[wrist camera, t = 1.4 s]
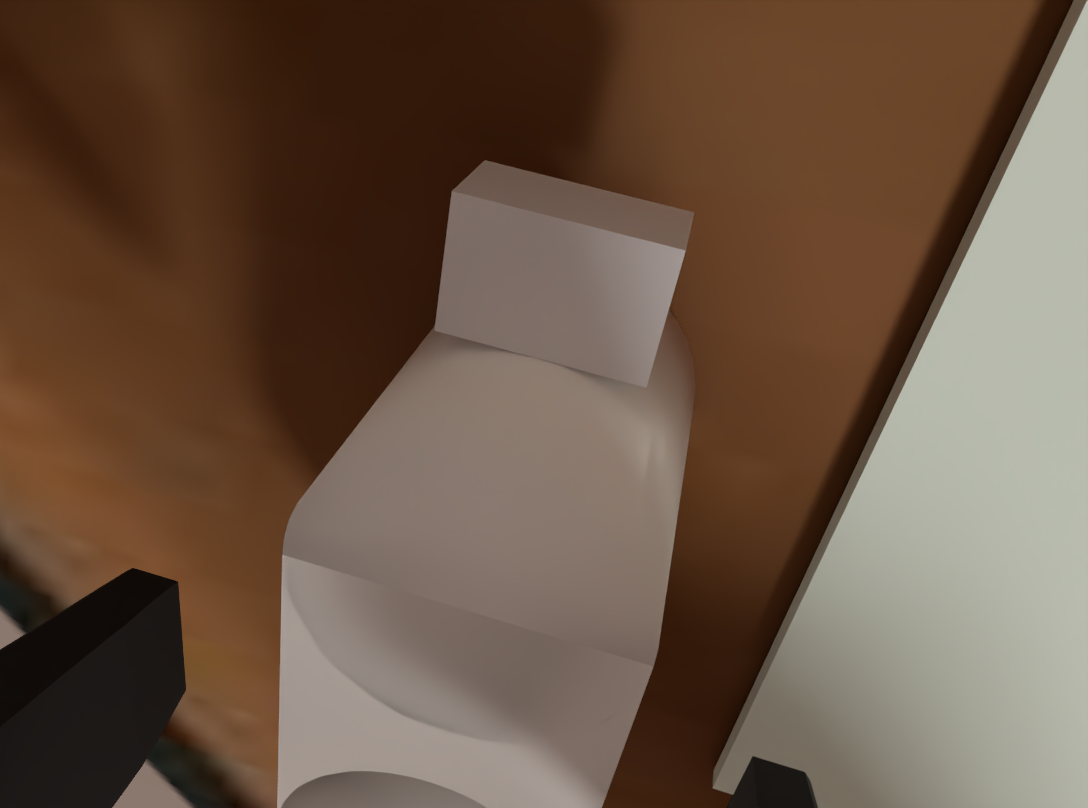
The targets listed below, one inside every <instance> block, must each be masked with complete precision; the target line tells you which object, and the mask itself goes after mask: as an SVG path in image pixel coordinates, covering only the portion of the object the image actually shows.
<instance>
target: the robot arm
mask: <svg viewBox="0 0 1088 808" xmlns="http://www.w3.org/2000/svg"><path fill="white" fill-rule="evenodd" d="M185 691H186V683H185V670H184V656H183V642H182V629H181V615H180V602H179V588H178V581H174V580H171V579H168V578H164V577H161V576H158V575H155V574H151V573H148V572H145V571H141V570H138V569H135V568H132V569H130V570H128V571H126V572H124V573H123V574H121V575H120V576H118V577H116V578H115V579H113V580H111V581H110V582H108V583H106V584H105V585H103V586H102V587H100V588H98V589H97V590H95V591H94V592H92V593H90V594H89V595H87V596H86V597H84V598H82V599H81V600H79V601H78V602H76V603H74V604H73V605H71V606H70V607H68V608H66V609H65V610H63V611H62V612H60V613H59V614H57V615H55V616H54V617H52V618H51V619H49V620H47V621H46V622H44V623H43V624H41V625H39V626H38V627H36V628H34V629H33V630H31V631H30V632H28V633H26V634H25V635H23V636H22V637H20V638H19V639H17V640H15V641H14V642H12V643H10V644H9V645H7V646H5V647H4V648H2V649H1V650H0V808H112V807H113V806H114V804H115V803H116V802H117V800H118V799H119V797H120V796H121V795H122V793H123V792H124V791H125V789H126V788H127V787H128V785H129V784H130V782H131V781H132V779H133V778H134V777H135V775H136V774H137V772H138V771H139V770H140V768H141V767H142V765H143V764H144V762H145V760H146V759H147V757H148V755H149V754H150V752H151V750H152V749H153V747H154V745H155V743H156V742H157V740H158V738H159V737H160V735H161V733H162V732H163V730H164V728H165V726H166V725H167V723H168V721H169V719H170V717H171V716H172V714H173V712H174V710H175V708H176V707H177V705H178V703H179V701H180V700H181V698H182V696H183V694H184V692H185ZM727 808H818V806H817V802H816V799H815V795H814V792H813V788H812V785H811V781H810V779H809V778H808V776H807V775H806V773H805V772H804V771H800V770H797V769H794V768H790V767H787V766H784V765H781V764H777V763H774V762H771V761H767V760H764V759H761V758H757V757H754V756H752V758H751V760H750V762H749V764H748V766H747V768H746V770H745V772H744V774H743V776H742V778H741V780H740V782H739V784H738V786H737V788H736V790H735V792H734V794H733V796H732V798H731V800H730V802H729V804H728V806H727Z"/></svg>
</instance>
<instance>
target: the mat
mask: <svg viewBox="0 0 1088 808" xmlns="http://www.w3.org/2000/svg"><path fill="white" fill-rule="evenodd" d="M752 756H754V757H757V758H761V759H764V760H767V761H771V762H774V763H777V764H781V765H784V766H787V767H790V768H794V769H797V770H800V771H804V772H805V773H806V775H807V776H808V778H809V779H810V781H811V785H812V788H813V792H814V795H815V799H816V802H817V806H818V808H1088V0H1074V1H1073V3H1072V5H1071V7H1070V9H1069V11H1068V14H1067V16H1066V18H1065V20H1064V22H1063V24H1062V26H1061V28H1060V31H1059V33H1058V35H1057V37H1056V39H1055V41H1054V43H1053V46H1052V48H1051V50H1050V52H1049V54H1048V56H1047V58H1046V61H1045V63H1044V65H1043V67H1042V69H1041V71H1040V73H1039V76H1038V78H1037V80H1036V82H1035V84H1034V86H1033V88H1032V90H1031V93H1030V95H1029V97H1028V99H1027V101H1026V103H1025V105H1024V108H1023V110H1022V112H1021V114H1020V116H1019V118H1018V120H1017V123H1016V125H1015V127H1014V129H1013V131H1012V133H1011V135H1010V138H1009V140H1008V142H1007V144H1006V146H1005V148H1004V150H1003V152H1002V155H1001V157H1000V159H999V161H998V163H997V165H996V167H995V170H994V172H993V174H992V176H991V178H990V180H989V182H988V185H987V187H986V189H985V191H984V193H983V195H982V197H981V200H980V202H979V204H978V206H977V208H976V210H975V212H974V214H973V217H972V219H971V221H970V223H969V225H968V227H967V229H966V232H965V234H964V236H963V238H962V240H961V242H960V244H959V247H958V249H957V251H956V253H955V255H954V257H953V259H952V262H951V264H950V266H949V268H948V270H947V272H946V274H945V276H944V279H943V281H942V283H941V285H940V287H939V289H938V291H937V294H936V296H935V298H934V300H933V302H932V304H931V306H930V309H929V311H928V313H927V315H926V317H925V319H924V321H923V324H922V326H921V328H920V330H919V332H918V334H917V336H916V338H915V341H914V343H913V345H912V347H911V349H910V351H909V353H908V356H907V358H906V360H905V362H904V364H903V366H902V368H901V371H900V373H899V375H898V377H897V379H896V381H895V383H894V386H893V388H892V390H891V392H890V394H889V396H888V398H887V400H886V403H885V405H884V407H883V409H882V411H881V413H880V415H879V418H878V420H877V422H876V424H875V426H874V428H873V430H872V433H871V435H870V437H869V439H868V441H867V443H866V445H865V448H864V450H863V452H862V454H861V456H860V458H859V460H858V462H857V465H856V467H855V469H854V471H853V473H852V475H851V477H850V480H849V482H848V484H847V486H846V488H845V490H844V492H843V495H842V497H841V499H840V501H839V503H838V505H837V507H836V510H835V512H834V514H833V516H832V518H831V520H830V522H829V524H828V527H827V529H826V531H825V533H824V535H823V537H822V539H821V542H820V544H819V546H818V548H817V550H816V552H815V554H814V557H813V559H812V561H811V563H810V565H809V567H808V569H807V572H806V574H805V576H804V578H803V580H802V582H801V584H800V586H799V589H798V591H797V593H796V595H795V597H794V599H793V601H792V604H791V606H790V608H789V610H788V612H787V614H786V616H785V619H784V621H783V623H782V625H781V627H780V629H779V631H778V634H777V636H776V638H775V640H774V642H773V644H772V646H771V649H770V651H769V653H768V655H767V657H766V659H765V661H764V663H763V666H762V668H761V670H760V672H759V674H758V676H757V678H756V681H755V683H754V685H753V687H752V689H751V691H750V693H749V696H748V698H747V700H746V702H745V704H744V706H743V708H742V711H741V713H740V715H739V717H738V719H737V721H736V723H735V725H734V728H733V730H732V732H731V734H730V736H729V738H728V740H727V743H726V745H725V747H724V749H723V751H722V753H721V755H720V758H719V760H718V762H717V764H716V766H715V768H714V771H713V789H716V790H719V791H722V792H726V793H729V794H732V795H733V794H734V792H735V790H736V788H737V786H738V784H739V782H740V780H741V778H742V776H743V774H744V772H745V770H746V768H747V766H748V764H749V762H750V760H751V758H752Z"/></svg>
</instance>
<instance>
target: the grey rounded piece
mask: <svg viewBox="0 0 1088 808" xmlns="http://www.w3.org/2000/svg"><path fill="white" fill-rule="evenodd" d="M694 213H695V212H691V211H687V210H683V209H679V208H675V207H671V206H666V205H662V204H658V203H654V202H650V201H646V200H642V199H638V198H634V197H630V196H626V195H622V194H618V193H614V192H610V191H606V190H602V189H598V188H594V187H590V186H586V185H582V184H578V183H574V182H570V181H566V180H562V179H558V178H554V177H550V176H546V175H542V174H538V173H534V172H530V171H526V170H522V169H518V168H514V167H510V166H506V165H502V164H498V163H494V162H490V161H486V160H484V161H483V162H482V163H481V164H480V165H479V166H478V167H477V168H476V169H475V170H474V171H473V172H472V173H471V174H470V175H468V176H467V177H466V178H465V179H464V180H463V181H462V182H461V183H460V184H459V185H458V186H457V187H456V188H455V189H453V190H452V193H451V201H450V209H449V218H448V226H447V234H446V242H445V250H444V258H443V266H442V274H441V282H440V290H439V298H438V306H437V314H436V322H435V326H434V327H433V328H432V330H431V331H430V332H429V334H428V335H427V336H426V337H425V339H424V340H423V341H422V343H421V344H420V345H419V346H418V348H417V349H416V350H415V352H414V353H413V354H412V356H411V357H410V358H409V359H408V361H407V362H406V363H405V365H404V366H403V367H402V368H401V370H400V371H399V372H398V374H397V375H396V376H395V377H394V379H393V380H392V381H391V383H390V384H389V385H388V386H387V388H386V389H385V390H384V392H383V393H382V394H381V396H380V397H379V398H378V399H377V401H376V402H375V403H374V405H373V406H372V407H371V408H370V410H369V411H368V412H367V414H366V415H365V416H364V417H363V419H362V420H361V421H360V423H359V424H358V425H357V426H356V428H355V429H354V430H353V432H352V433H351V434H350V436H349V437H348V438H347V439H346V441H345V442H344V443H343V445H342V446H341V447H340V448H339V450H338V451H337V452H336V454H335V455H334V456H333V457H332V459H331V460H330V461H329V463H328V464H327V465H326V466H325V468H324V469H323V470H322V472H321V473H320V474H319V476H318V477H317V478H316V479H315V481H314V482H313V483H312V485H311V486H310V487H309V488H308V490H307V491H306V492H305V494H304V495H303V496H302V498H301V499H300V500H299V501H298V503H297V505H296V507H295V509H294V511H293V513H292V515H291V517H290V519H289V522H288V525H287V529H286V532H285V535H284V543H283V552H282V594H281V645H280V696H279V747H278V798H277V808H602V806H603V803H604V800H605V798H606V795H607V792H608V790H609V787H610V784H611V781H612V779H613V776H614V773H615V770H616V768H617V765H618V762H619V760H620V757H621V754H622V751H623V749H624V746H625V743H626V740H627V738H628V735H629V732H630V730H631V727H632V724H633V721H634V719H635V716H636V713H637V710H638V708H639V705H640V702H641V700H642V697H643V694H644V691H645V689H646V686H647V683H648V680H649V678H650V675H651V672H652V670H653V667H654V663H655V659H656V656H657V652H658V647H659V641H660V634H661V627H662V620H663V613H664V606H665V599H666V593H667V586H668V579H669V572H670V565H671V558H672V551H673V545H674V538H675V531H676V524H677V517H678V510H679V503H680V497H681V490H682V483H683V476H684V469H685V462H686V455H687V449H688V442H689V435H690V428H691V421H692V414H693V407H694V401H695V389H696V377H695V366H694V362H693V357H692V353H691V350H690V347H689V344H688V342H687V339H686V336H685V335H684V333H683V331H682V329H681V327H680V325H679V323H678V322H677V320H676V319H675V317H674V316H673V315H672V313H671V312H670V311H669V307H670V304H671V300H672V297H673V293H674V290H675V286H676V283H677V279H678V276H679V272H680V269H681V265H682V262H683V258H684V255H685V251H686V247H687V243H688V238H689V234H690V230H691V225H692V221H693V217H694Z"/></svg>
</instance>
